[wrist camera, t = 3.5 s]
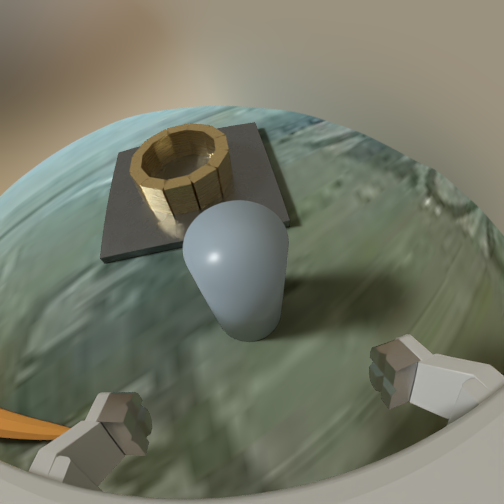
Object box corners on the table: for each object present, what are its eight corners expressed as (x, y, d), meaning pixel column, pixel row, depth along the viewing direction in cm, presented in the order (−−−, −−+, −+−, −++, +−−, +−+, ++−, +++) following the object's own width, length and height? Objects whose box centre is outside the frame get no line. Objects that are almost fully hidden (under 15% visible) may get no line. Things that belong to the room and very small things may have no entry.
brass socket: (225, 141, 31) (221, 117, 28) (238, 202, 26) (234, 175, 23) (145, 159, 31) (136, 136, 28) (138, 223, 26) (125, 199, 23)
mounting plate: (255, 128, 34) (255, 122, 33) (289, 227, 26) (289, 220, 25) (121, 158, 33) (118, 152, 32) (104, 263, 25) (99, 258, 24)
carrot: (-13, 427, 15) (-34, 437, 11) (-26, 392, 16) (-48, 399, 12) (118, 445, 19) (102, 468, 14) (103, 402, 19) (82, 420, 15)
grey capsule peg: (273, 276, 23) (274, 192, 15) (287, 334, 21) (301, 278, 12) (213, 287, 23) (180, 210, 14) (222, 346, 20) (186, 299, 12)
